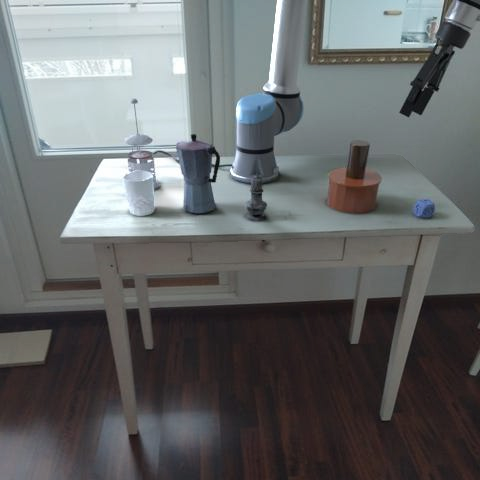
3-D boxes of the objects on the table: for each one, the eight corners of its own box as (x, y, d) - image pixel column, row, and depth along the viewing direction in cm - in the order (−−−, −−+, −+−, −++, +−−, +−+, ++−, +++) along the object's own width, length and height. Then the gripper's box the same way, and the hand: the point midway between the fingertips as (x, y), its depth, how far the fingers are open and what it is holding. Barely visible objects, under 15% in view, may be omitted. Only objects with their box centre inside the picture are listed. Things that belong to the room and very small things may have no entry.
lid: (318, 181, 134) (322, 143, 128) (345, 167, 143) (349, 131, 137) (364, 194, 126) (371, 155, 120) (390, 179, 135) (397, 142, 129)
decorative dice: (412, 213, 134) (415, 199, 131) (424, 211, 134) (428, 197, 132) (420, 219, 131) (423, 205, 128) (433, 217, 131) (436, 203, 129)
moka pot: (191, 196, 142) (187, 126, 130) (233, 209, 135) (232, 136, 123) (169, 207, 136) (162, 134, 124) (211, 221, 129) (209, 145, 117)
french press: (132, 193, 143) (120, 104, 128) (123, 180, 152) (110, 95, 137) (163, 188, 147) (155, 100, 132) (153, 176, 155) (144, 92, 140)
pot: (317, 204, 138) (320, 178, 134) (342, 190, 146) (345, 166, 142) (360, 217, 131) (364, 191, 127) (383, 202, 139) (388, 177, 135)
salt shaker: (264, 222, 128) (266, 178, 121) (243, 220, 129) (243, 176, 122) (268, 213, 133) (270, 170, 126) (247, 211, 134) (248, 168, 127)
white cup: (131, 205, 137) (126, 170, 131) (158, 205, 137) (155, 170, 131) (125, 216, 130) (119, 180, 125) (154, 217, 130) (150, 181, 124)
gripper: (463, 26, 105) (411, 122, 117) (479, 36, 124) (433, 118, 136) (432, 13, 107) (384, 109, 119) (452, 25, 126) (409, 106, 138)
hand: (410, 114), depth 128 cm, fingers open, 13 cm apart
